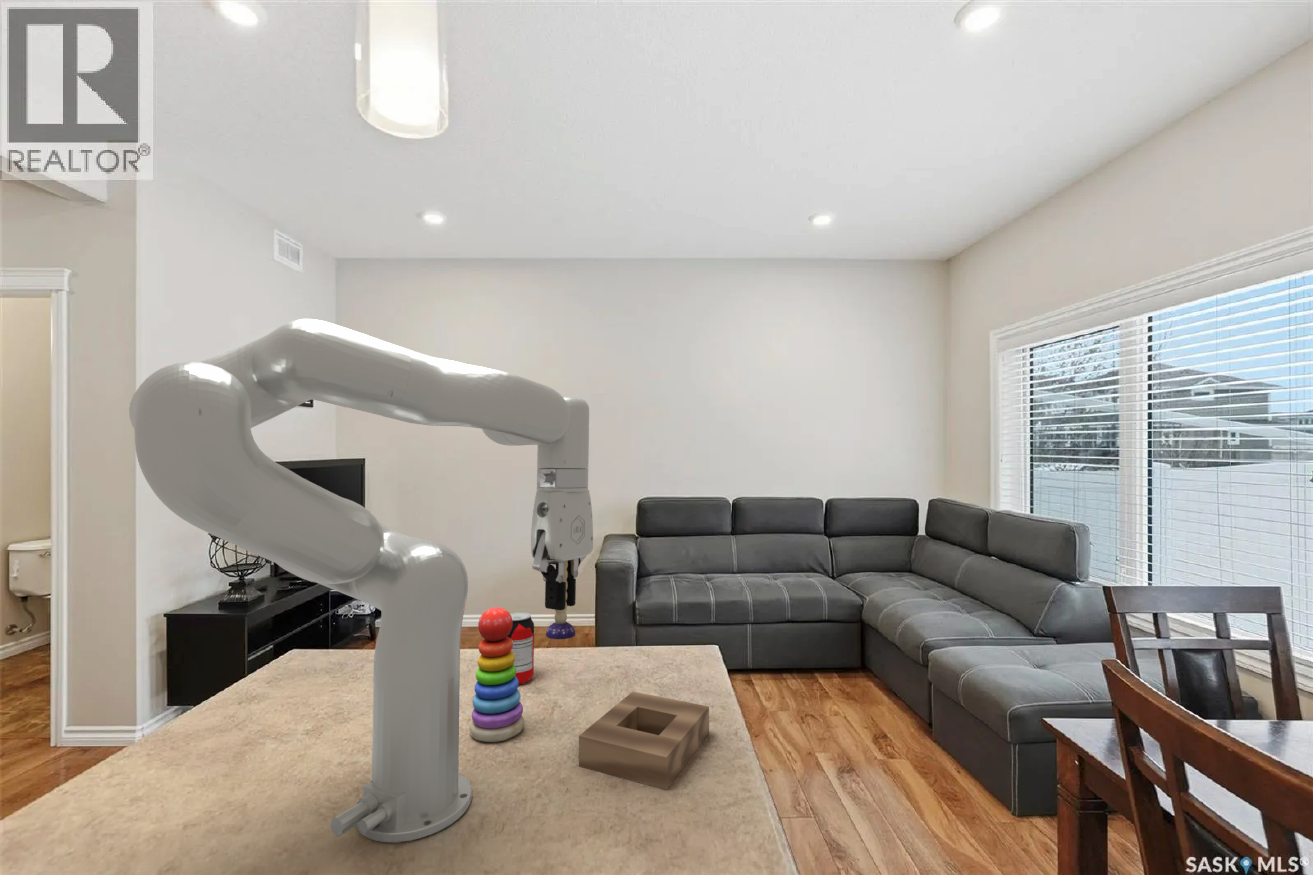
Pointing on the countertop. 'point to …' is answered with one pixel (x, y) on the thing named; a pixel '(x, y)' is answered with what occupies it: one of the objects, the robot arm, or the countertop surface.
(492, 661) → the stacking toy
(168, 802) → the countertop surface
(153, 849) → the countertop surface
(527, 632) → the beverage can
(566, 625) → the toy lamp
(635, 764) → the brown flat frame block
